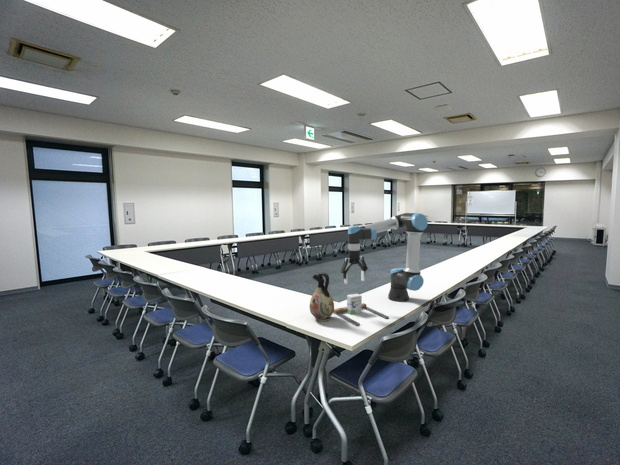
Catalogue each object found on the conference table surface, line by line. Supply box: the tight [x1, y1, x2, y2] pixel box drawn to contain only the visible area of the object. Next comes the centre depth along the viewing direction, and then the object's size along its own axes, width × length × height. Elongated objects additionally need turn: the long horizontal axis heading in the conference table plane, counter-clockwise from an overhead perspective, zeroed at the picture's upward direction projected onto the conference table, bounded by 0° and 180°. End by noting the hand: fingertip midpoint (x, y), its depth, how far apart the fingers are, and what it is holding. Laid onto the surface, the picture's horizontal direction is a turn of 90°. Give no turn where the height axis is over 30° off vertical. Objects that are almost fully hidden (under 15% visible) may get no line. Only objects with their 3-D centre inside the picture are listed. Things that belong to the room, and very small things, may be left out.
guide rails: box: [335, 306, 390, 327], centre depth 189 cm, size 25×22×1 cm
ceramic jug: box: [309, 272, 335, 322], centre depth 184 cm, size 17×15×30 cm
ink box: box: [346, 293, 363, 315], centre depth 196 cm, size 9×5×12 cm, turn 114°
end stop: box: [333, 303, 367, 315], centre depth 200 cm, size 25×3×2 cm, turn 118°
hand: (354, 282), depth 195 cm, fingers open, 13 cm apart
